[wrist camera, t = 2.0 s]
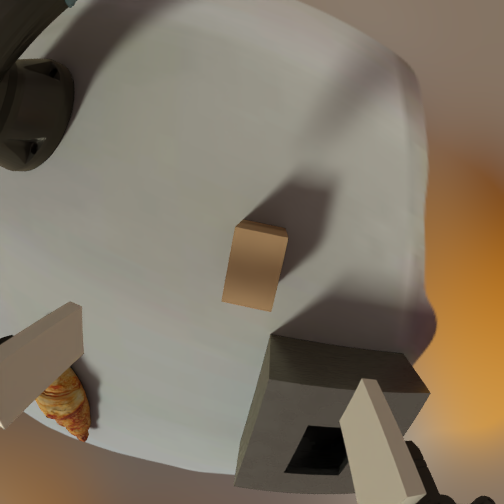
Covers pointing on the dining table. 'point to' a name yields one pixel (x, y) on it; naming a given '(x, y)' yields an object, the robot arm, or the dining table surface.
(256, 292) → the brown block
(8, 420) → the robot arm
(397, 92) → the dining table surface
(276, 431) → the box
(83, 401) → the croissant
